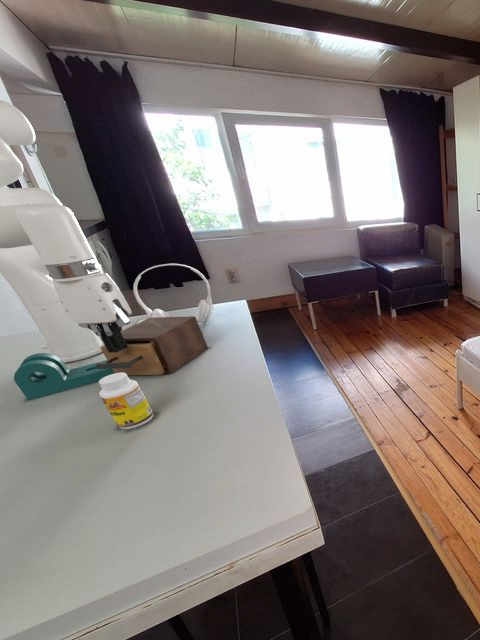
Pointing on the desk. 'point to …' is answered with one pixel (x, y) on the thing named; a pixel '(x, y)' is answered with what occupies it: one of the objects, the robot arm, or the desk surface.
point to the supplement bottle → (125, 401)
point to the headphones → (201, 316)
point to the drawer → (134, 359)
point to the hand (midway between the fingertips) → (118, 349)
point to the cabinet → (170, 338)
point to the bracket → (54, 375)
